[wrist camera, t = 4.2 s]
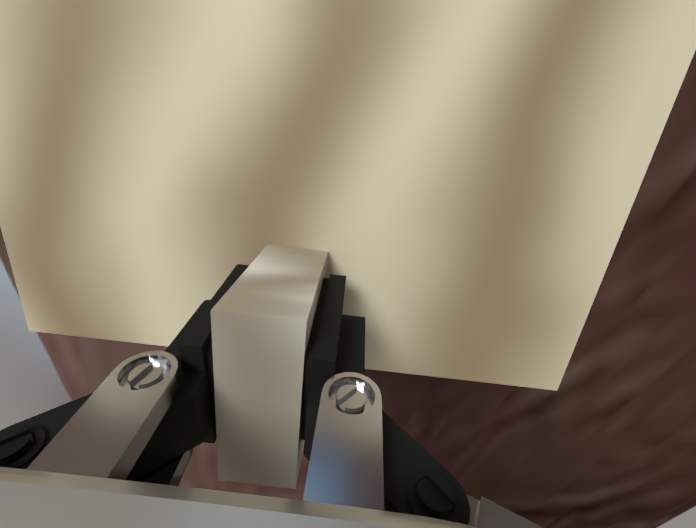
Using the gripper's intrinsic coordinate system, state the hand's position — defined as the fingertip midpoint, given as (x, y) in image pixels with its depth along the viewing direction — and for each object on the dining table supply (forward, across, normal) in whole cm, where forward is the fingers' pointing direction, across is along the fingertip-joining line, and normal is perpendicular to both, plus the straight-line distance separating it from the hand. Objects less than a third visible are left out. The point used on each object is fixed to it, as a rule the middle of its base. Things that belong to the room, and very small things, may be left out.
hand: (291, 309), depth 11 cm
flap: (+2, 0, -4) cm, 4 cm away
